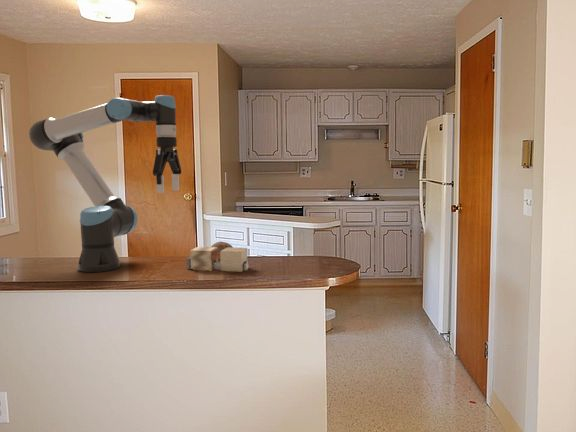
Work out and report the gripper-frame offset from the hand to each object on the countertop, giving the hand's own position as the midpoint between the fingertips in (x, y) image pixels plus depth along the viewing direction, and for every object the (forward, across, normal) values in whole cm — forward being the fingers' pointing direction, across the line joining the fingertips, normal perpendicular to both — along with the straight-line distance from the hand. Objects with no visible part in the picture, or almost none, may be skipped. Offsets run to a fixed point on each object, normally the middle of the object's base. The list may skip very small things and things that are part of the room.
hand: (168, 191), depth 202 cm
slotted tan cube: (+29, -5, -16) cm, 33 cm away
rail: (+28, -5, -22) cm, 36 cm away
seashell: (+29, +12, -18) cm, 36 cm away
